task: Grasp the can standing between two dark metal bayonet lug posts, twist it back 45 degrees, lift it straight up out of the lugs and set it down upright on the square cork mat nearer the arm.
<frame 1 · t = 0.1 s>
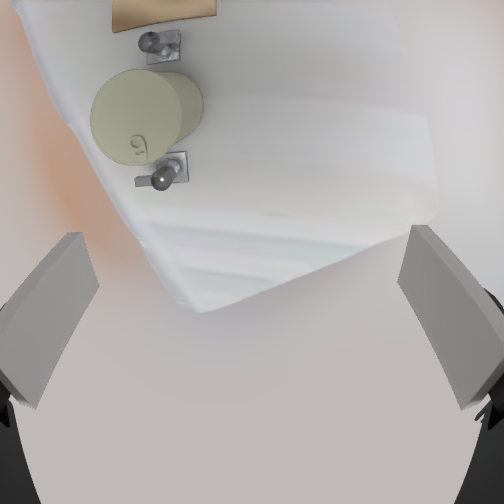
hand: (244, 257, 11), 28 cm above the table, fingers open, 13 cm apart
can: (167, 107, 33), on the table
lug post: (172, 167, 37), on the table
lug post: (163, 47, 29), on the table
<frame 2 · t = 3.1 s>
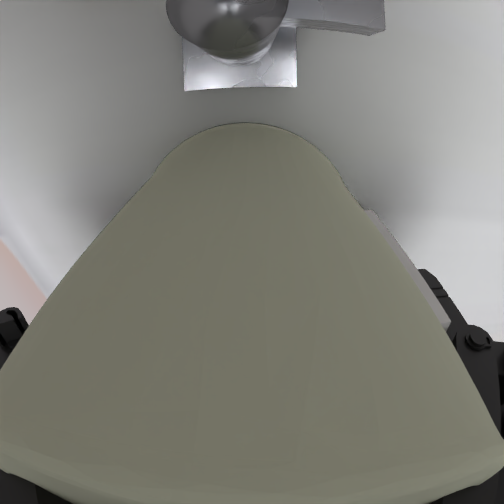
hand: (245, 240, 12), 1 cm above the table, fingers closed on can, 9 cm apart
can: (246, 227, 13), on the table, touching gripper
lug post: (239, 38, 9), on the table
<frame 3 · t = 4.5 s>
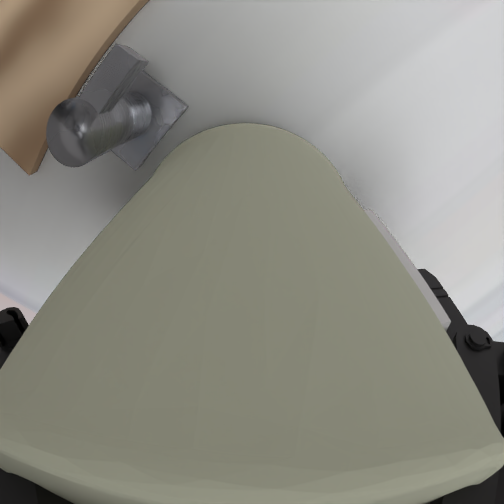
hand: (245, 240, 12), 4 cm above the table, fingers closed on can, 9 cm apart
can: (246, 227, 13), point 2 cm above the table, touching gripper
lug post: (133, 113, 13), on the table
cork mat: (24, 30, 9), on the table
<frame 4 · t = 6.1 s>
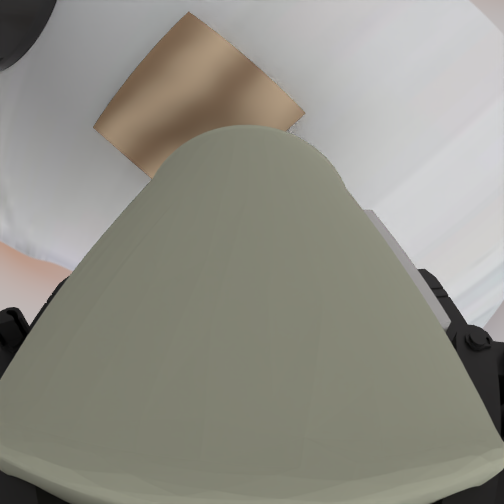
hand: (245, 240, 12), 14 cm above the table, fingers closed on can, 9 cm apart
can: (246, 228, 13), point 13 cm above the table, touching gripper
cork mat: (192, 113, 23), on the table
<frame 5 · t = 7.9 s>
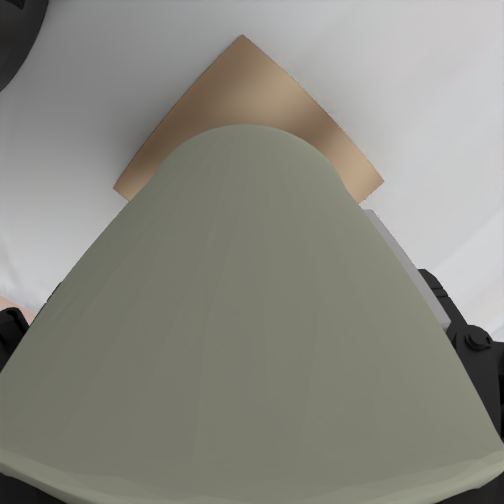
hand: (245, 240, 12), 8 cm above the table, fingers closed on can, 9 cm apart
can: (246, 228, 13), point 7 cm above the table, touching gripper
cork mat: (247, 175, 19), on the table
when the fingers open (3 cm above the table, at t = 9.4 s): can drops 1 cm, resting on cork mat.
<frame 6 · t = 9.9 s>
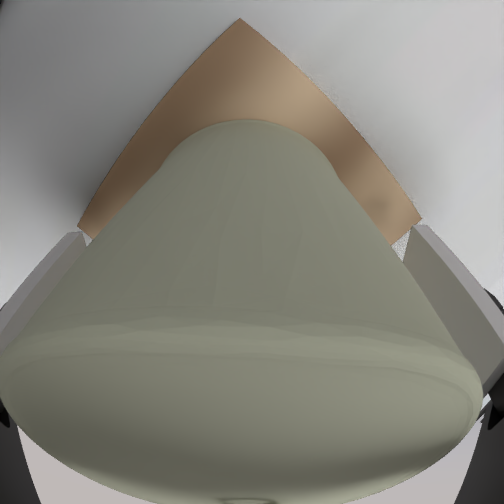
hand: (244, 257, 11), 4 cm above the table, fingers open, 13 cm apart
can: (246, 216, 14), point 1 cm above the table, touching cork mat
cork mat: (246, 211, 15), on the table
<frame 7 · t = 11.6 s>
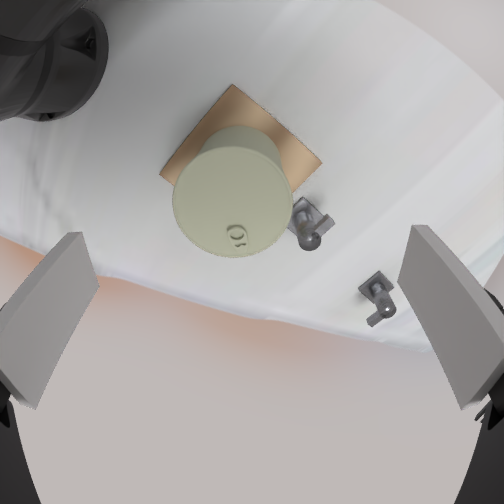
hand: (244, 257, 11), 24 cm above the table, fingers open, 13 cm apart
can: (239, 166, 32), point 1 cm above the table, touching cork mat
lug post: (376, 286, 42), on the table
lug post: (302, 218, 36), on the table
cork mat: (239, 164, 33), on the table
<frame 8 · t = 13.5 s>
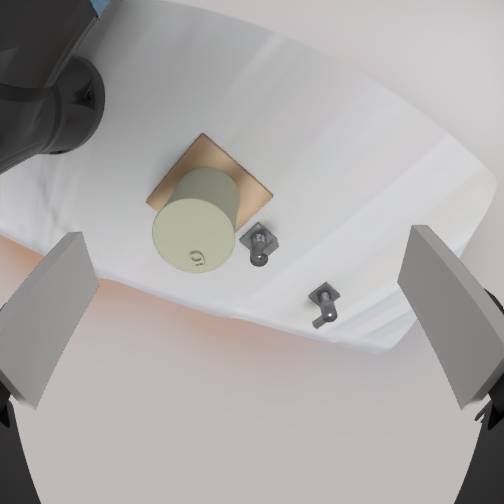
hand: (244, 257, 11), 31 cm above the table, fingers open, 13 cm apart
can: (207, 198, 42), point 1 cm above the table, touching cork mat
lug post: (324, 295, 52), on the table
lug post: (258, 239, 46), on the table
cork mat: (207, 196, 42), on the table
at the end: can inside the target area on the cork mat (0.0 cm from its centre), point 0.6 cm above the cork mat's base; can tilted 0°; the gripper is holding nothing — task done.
